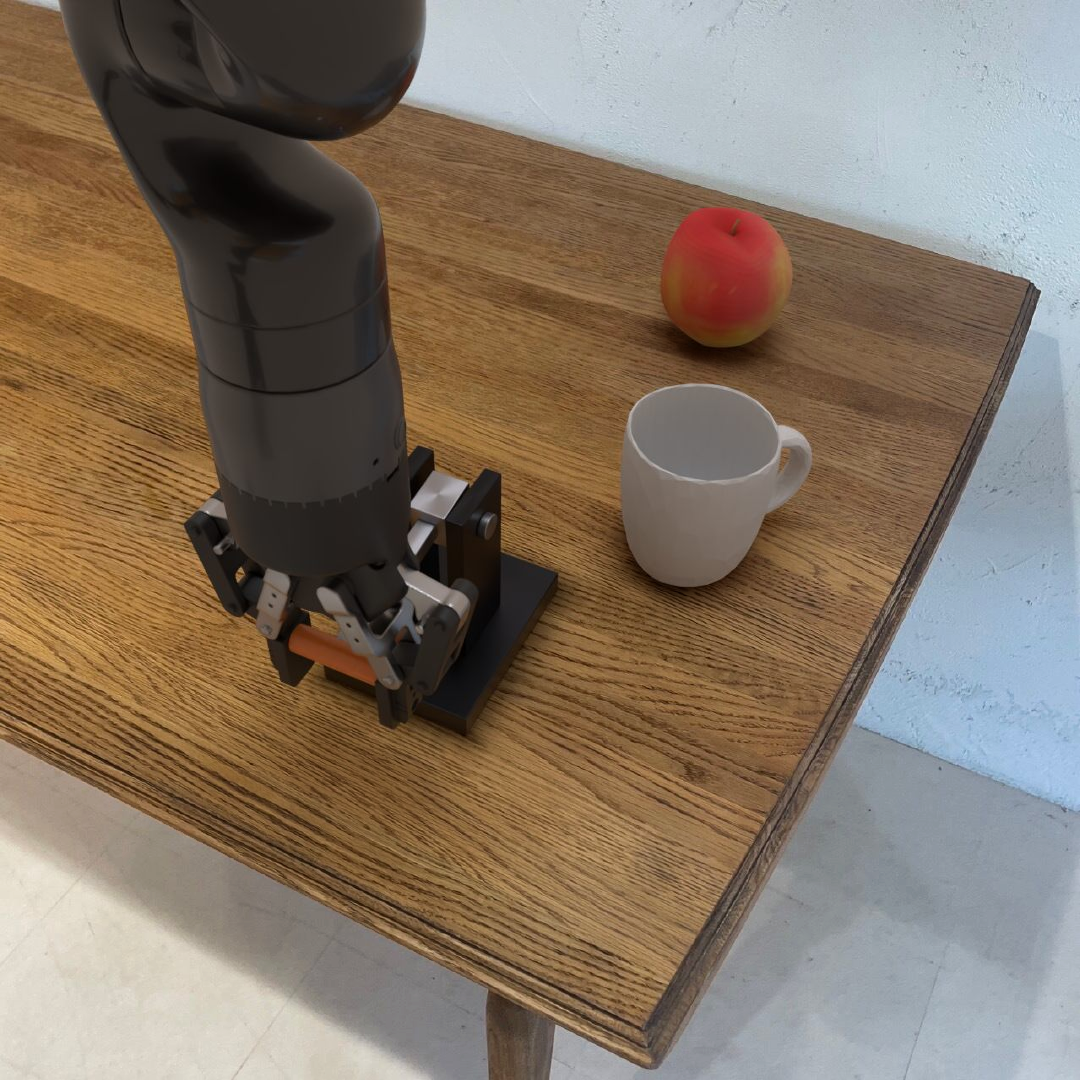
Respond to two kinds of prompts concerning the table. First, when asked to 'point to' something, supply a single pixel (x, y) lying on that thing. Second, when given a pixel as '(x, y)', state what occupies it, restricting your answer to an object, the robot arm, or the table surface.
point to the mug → (703, 479)
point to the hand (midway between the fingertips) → (348, 692)
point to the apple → (725, 276)
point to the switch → (425, 530)
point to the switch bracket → (502, 606)
